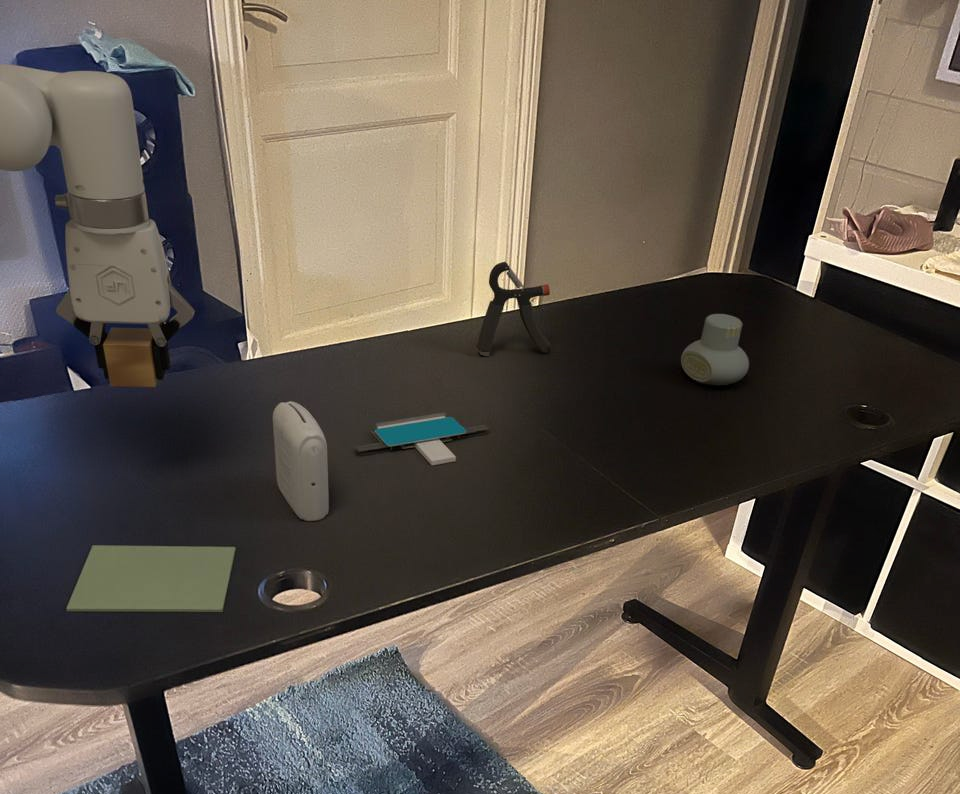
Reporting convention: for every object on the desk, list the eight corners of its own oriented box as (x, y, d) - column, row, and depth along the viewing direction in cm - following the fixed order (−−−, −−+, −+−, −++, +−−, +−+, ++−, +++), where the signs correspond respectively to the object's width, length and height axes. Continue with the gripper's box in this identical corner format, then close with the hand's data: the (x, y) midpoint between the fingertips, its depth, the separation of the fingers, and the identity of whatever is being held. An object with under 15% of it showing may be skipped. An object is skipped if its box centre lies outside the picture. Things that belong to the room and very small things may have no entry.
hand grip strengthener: (551, 355, 163) (561, 265, 154) (479, 357, 161) (485, 265, 151) (547, 350, 165) (557, 260, 156) (476, 352, 162) (482, 261, 153)
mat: (66, 611, 102) (66, 608, 101) (93, 548, 111) (92, 545, 111) (222, 612, 103) (222, 609, 103) (235, 549, 113) (235, 546, 112)
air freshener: (670, 371, 162) (681, 312, 155) (705, 363, 165) (718, 304, 159) (716, 397, 155) (730, 336, 148) (752, 387, 159) (767, 328, 152)
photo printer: (333, 518, 119) (331, 426, 111) (300, 525, 117) (295, 432, 110) (305, 479, 126) (300, 390, 118) (273, 485, 124) (266, 395, 117)
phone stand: (375, 476, 128) (375, 465, 127) (343, 436, 136) (342, 426, 135) (508, 451, 136) (509, 441, 135) (470, 415, 144) (471, 405, 143)
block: (110, 386, 111) (102, 344, 107) (118, 368, 114) (111, 327, 111) (155, 387, 111) (149, 345, 108) (162, 369, 115) (156, 328, 112)
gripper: (14, 216, 97) (51, 386, 109) (189, 223, 99) (207, 390, 111) (33, 195, 103) (66, 359, 114) (198, 202, 105) (215, 363, 116)
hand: (135, 372), depth 112 cm, fingers closed on block, 5 cm apart
